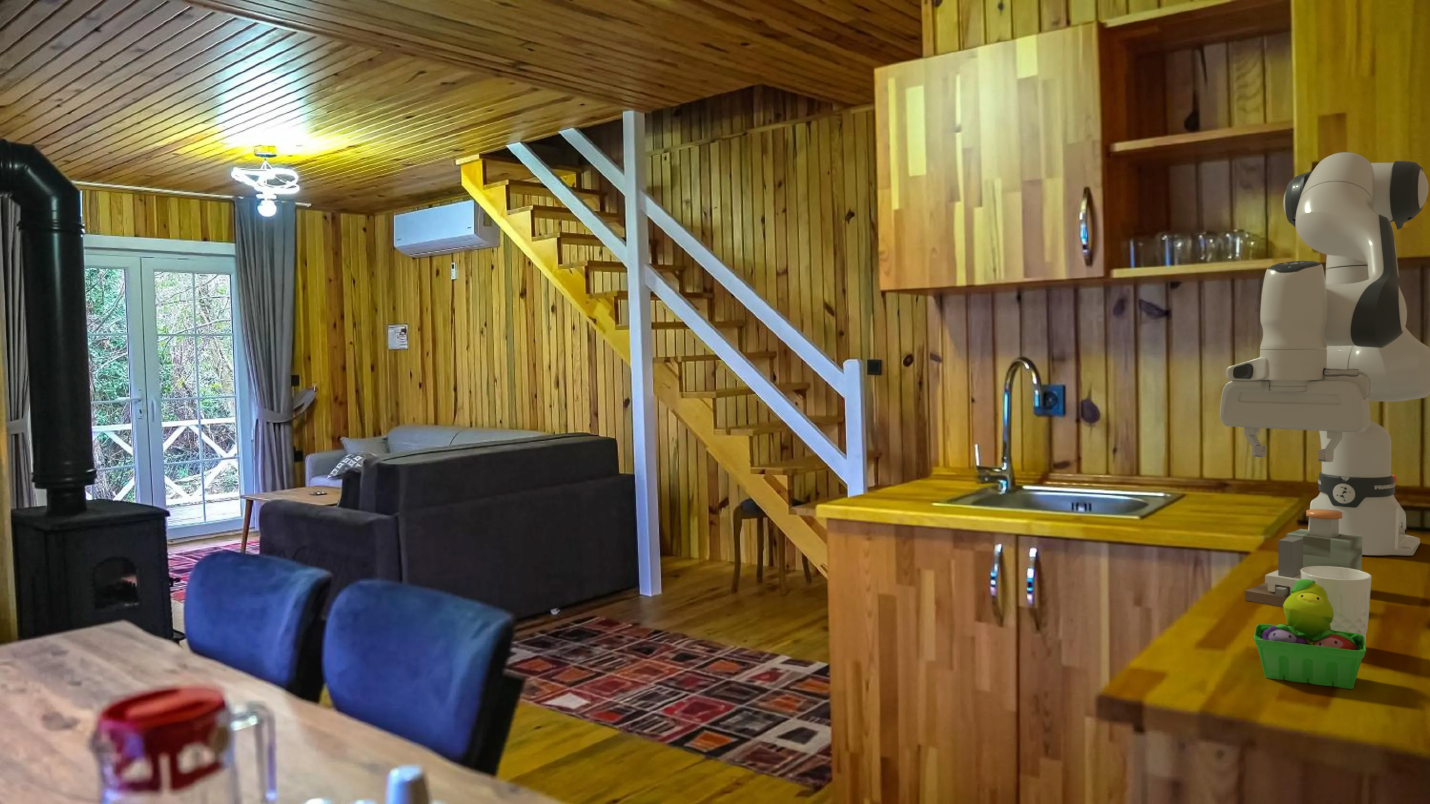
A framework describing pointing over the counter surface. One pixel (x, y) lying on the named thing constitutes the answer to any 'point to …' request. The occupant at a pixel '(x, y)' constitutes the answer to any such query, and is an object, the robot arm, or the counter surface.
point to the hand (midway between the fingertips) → (1291, 459)
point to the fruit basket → (1309, 642)
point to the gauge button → (1324, 522)
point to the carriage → (1287, 564)
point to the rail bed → (1314, 562)
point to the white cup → (1344, 595)
